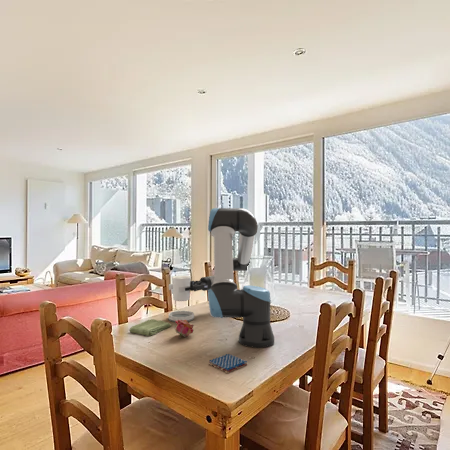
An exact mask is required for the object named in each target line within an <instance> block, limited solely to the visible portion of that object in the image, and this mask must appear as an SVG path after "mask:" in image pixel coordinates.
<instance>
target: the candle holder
mask: <svg viewBox="0 0 450 450" xmlns="http://www.w3.org/2000/svg"><path fill="white" fill-rule="evenodd" d="M171 278H172V280H171V281H172V283H171V284H173V289H172V295H173V298H172V299H173V301H174V302H175V301H176V302H187V301H189V300H190V297H191V296H190V292H191V290H190V291H186V292H180V293H179V287H183V286H190V281H191V278H192V277H191V275H174V276H172V277H171Z"/></svg>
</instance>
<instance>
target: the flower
mask: <svg viewBox="0 0 450 450" xmlns="http://www.w3.org/2000/svg"><path fill="white" fill-rule="evenodd" d="M174 323H175V324H176V325H175V329H174V330H175V332H176V333H177V334H179V336H178V339H181V337H182V336H183V337H184V338H189V336H190V335H191V334H193V332H194V324H191V323H190V322H188V321H187V320H183V321H182V320H181V321H180V320H178V321H175V322H174Z"/></svg>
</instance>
